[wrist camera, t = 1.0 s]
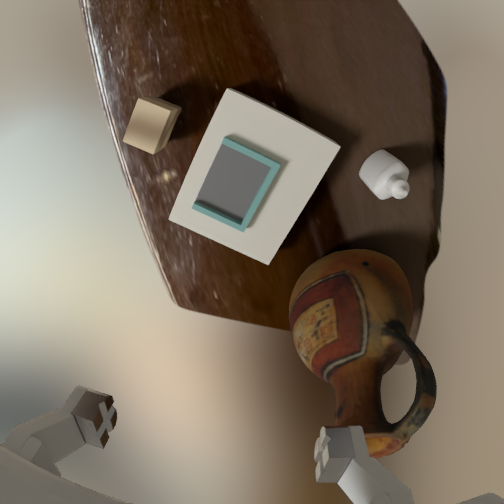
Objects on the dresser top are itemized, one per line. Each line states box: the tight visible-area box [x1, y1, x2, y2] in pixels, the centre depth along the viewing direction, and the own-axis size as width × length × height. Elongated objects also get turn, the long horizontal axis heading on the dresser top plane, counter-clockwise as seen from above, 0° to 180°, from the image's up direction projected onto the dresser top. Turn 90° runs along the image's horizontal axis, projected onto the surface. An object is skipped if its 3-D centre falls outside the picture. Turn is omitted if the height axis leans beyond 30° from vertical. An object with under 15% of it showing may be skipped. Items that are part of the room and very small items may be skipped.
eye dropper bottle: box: [359, 149, 409, 200], centre depth 37 cm, size 4×6×12 cm
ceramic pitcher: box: [289, 249, 436, 458], centre depth 41 cm, size 20×20×30 cm
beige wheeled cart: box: [123, 96, 182, 154], centre depth 38 cm, size 6×5×7 cm
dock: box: [168, 88, 340, 265], centre depth 42 cm, size 20×16×5 cm
